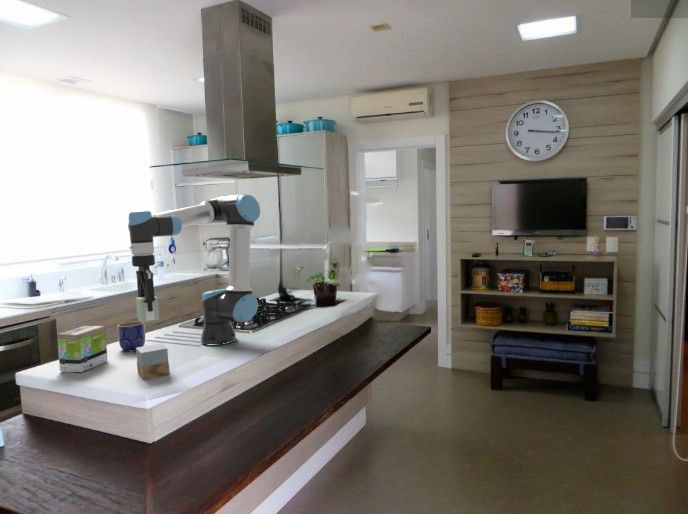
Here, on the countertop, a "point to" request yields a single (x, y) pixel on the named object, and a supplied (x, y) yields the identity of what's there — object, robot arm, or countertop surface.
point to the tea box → (82, 348)
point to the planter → (131, 335)
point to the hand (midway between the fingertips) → (147, 318)
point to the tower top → (152, 355)
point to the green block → (141, 309)
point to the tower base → (153, 370)
